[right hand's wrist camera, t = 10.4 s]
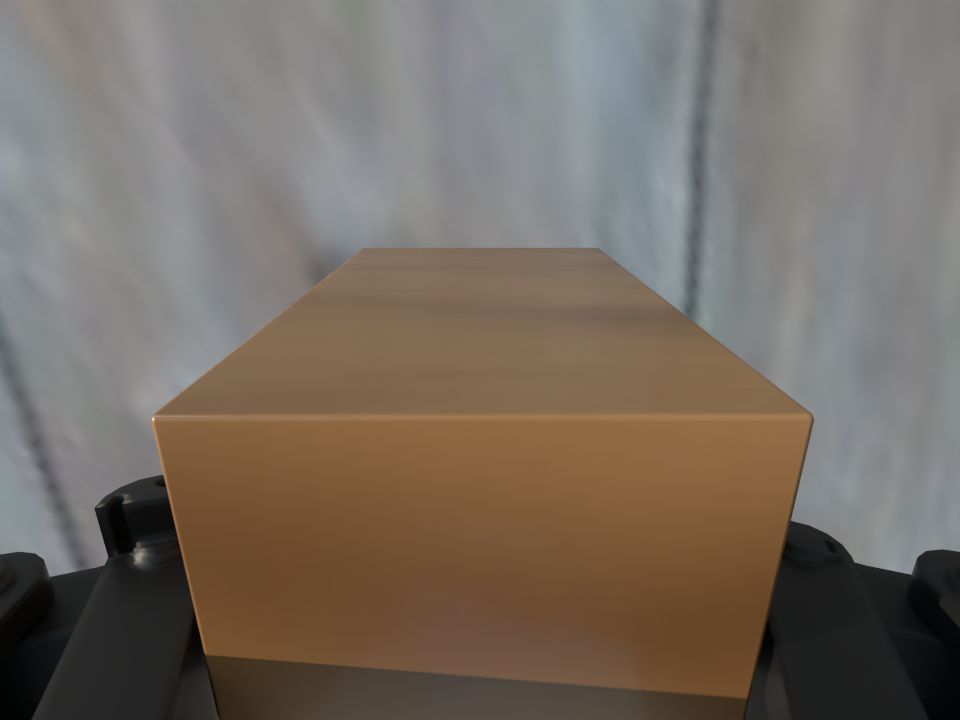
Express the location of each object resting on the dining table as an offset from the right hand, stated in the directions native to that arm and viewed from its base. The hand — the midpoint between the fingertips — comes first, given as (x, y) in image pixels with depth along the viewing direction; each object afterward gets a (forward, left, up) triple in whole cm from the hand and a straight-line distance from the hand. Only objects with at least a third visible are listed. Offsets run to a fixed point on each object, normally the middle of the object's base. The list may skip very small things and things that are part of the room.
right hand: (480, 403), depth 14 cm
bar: (+5, +8, -1) cm, 10 cm away
